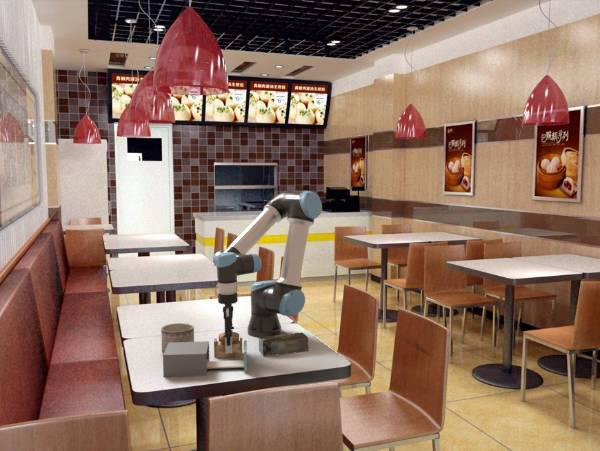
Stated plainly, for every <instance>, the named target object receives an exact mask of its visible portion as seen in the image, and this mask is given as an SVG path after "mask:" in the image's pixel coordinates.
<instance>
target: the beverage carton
mask: <svg viewBox="0 0 600 451" xmlns="http://www.w3.org/2000/svg"><path fill="white" fill-rule="evenodd" d="M258 351H259V353H260V354H261V355H262V356H263V357H268V356H267V355H270V356H277V355H276V354H279V355H286V354H285V353H288V354H294V352H296V353H303V352H305V351H306V352H309V337H308V335H306V334H305V333H303V332H295V333H288V334H287V333H285V334H278V335H276V336H267V337H258Z"/></svg>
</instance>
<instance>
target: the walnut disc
mask: <svg viewBox="0 0 600 451" xmlns="http://www.w3.org/2000/svg"><path fill="white" fill-rule="evenodd" d="M223 336H225V331H223V332H221V333H219V334H218V341H219V342H222V343H225V337H223ZM237 341H240V334H239V333H238V332H235V331H233V332H232V343H233V342H237Z"/></svg>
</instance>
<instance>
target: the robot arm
mask: <svg viewBox="0 0 600 451" xmlns="http://www.w3.org/2000/svg"><path fill="white" fill-rule="evenodd" d="M322 209H323V204H322V200H321V199H320V196H319V195H318V194H317V193H316V192H314V191H311V190H291V189H289V190H285V191H282V192H281V193H278V194H277V195H275V196H273V198H272V199H270V200H269V201H268V202H267V203H266V204H265V205H264V207H263V211H262V212H260V214H259V215H258V216H256V218H255V219H254V220H253V221H252V222H250V224H249V225H248V226H246V228H245V229H244V230H243V231H242V232H241V233H240V234H239V235H238V236H237V238H235V239H234V241H233V242H231V244H230V245H229V246H228V247H226V248H225V249H224V250H219V251H217V252H215V254H214V255H213V258H212V259H213V265H214V266H215V267H216V274H217V284H216V285H215V287H216V288H217V292H218V294H217V303H218V304H221V305H224V306H222V312H223V320H224V332H225V336H223V337H225V354H226V353H232V332H234V329H235V326H233V324H234V323H233V319H234V318H233V315H234V306H233V305H234V304H236V303H237V302H238V276H241V275H242V276H244V275H249V274H254V273H258V272H259V271H261V269H262V266H263V264H262V262H263V261H262V259H261V256H259V255H258V254H257V253H249V251H250V250H251V249H252V248H253V247H254V246H255V245H256V244H257V243H258V242H259V241H260V240H261V239H262V238H263V237H264V235H266V233H267V232H269V231H270V229H271V228H272V227H273V226H274V225H275V224H277V223H280V222H281V221H282V220H283V219H284V218H287V219H286V220H287V221H288V223H289V226H288V232H287V237H286V243H285V249H284V251H283V252H284V253H283V258H282V263H281V269H280V274H279V278H278V279H276V280H262V281H255V282H253V283H252V284H251V285H250V310H251V311H250V312H251V313H250V314H251V315H250V319H249V322H248V326H247V334H248V335H249V336H252V337H258V338H259V337H267V336H276V335H281V334H282V324H281V323H280V319H279V316H278V314H279V315H282V316H285V317H295V316H297V315H299V313H301V311H302V310H303V308H304V307H305V304H306V296H305V293H304V292H303V291H302V289H303V286H302V284H301V281H300V279H301V274H302V269H303V263H304V258H305V253H306V247H307V241H308V236H309V229H310V227H311V226H312V225H314V222H315V220H316V219H317V218H319V216H320V215H322V214H321V213H322V211H323V210H322ZM248 253H249V254H248Z"/></svg>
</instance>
